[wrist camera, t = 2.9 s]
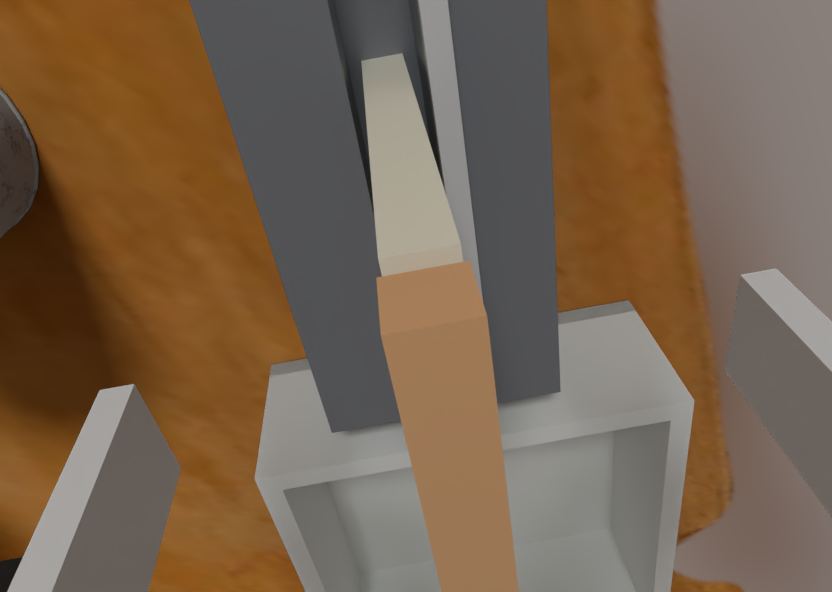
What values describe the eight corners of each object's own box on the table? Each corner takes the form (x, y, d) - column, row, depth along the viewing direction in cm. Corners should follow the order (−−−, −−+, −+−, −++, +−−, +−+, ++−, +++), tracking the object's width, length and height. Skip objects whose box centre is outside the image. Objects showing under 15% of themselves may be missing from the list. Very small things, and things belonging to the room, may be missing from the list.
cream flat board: (434, 245, 27) (521, 609, 14) (397, 251, 27) (448, 622, 14) (403, 51, 23) (487, 315, 9) (359, 59, 23) (380, 334, 9)
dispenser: (518, 289, 34) (565, 405, 27) (334, 323, 34) (331, 446, 27) (483, -169, 23) (547, -185, 16) (208, -117, 23) (145, -108, 16)
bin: (619, 523, 46) (665, 632, 40) (348, 571, 47) (349, 687, 40) (628, 300, 35) (694, 400, 29) (271, 364, 35) (254, 479, 29)
